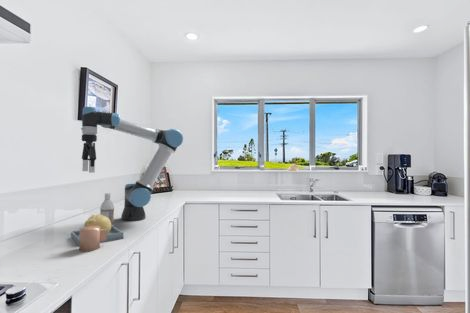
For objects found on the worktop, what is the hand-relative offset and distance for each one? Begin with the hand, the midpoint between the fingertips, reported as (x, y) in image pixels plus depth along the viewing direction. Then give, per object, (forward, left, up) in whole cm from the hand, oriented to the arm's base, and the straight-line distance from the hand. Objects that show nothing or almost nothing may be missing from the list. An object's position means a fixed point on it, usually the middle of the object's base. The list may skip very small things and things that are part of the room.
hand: (88, 171), depth 155 cm
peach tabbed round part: (+7, +38, -32) cm, 50 cm away
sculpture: (+1, +24, -31) cm, 39 cm away
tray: (+1, +24, -32) cm, 40 cm away
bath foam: (-8, +9, -32) cm, 34 cm away
